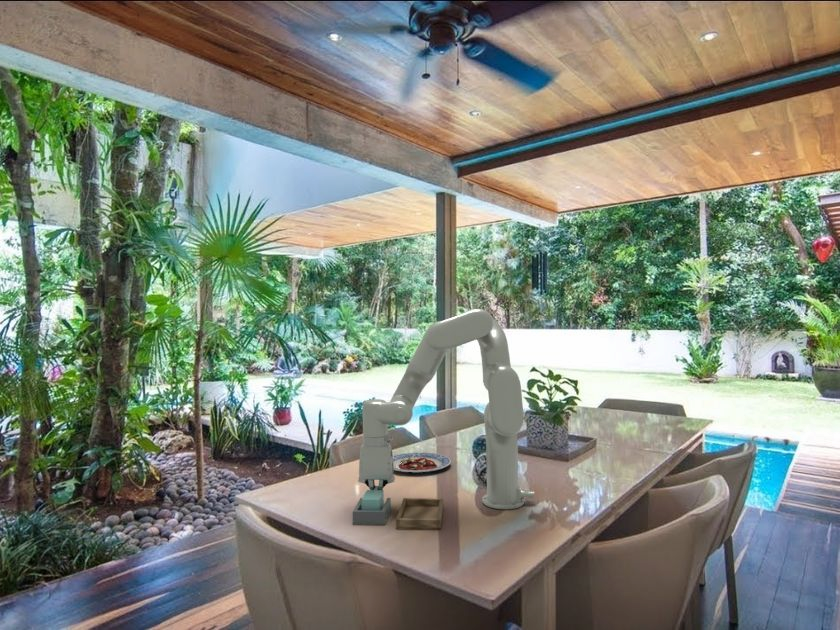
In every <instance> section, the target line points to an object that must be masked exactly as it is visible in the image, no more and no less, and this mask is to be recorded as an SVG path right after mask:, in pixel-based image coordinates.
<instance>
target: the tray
mask: <svg viewBox="0 0 840 630" xmlns="http://www.w3.org/2000/svg"><path fill="white" fill-rule="evenodd" d="M443 514H444V498H432V497H431V498H424V497H423V498H418V497H417V498H416V497H415V498H412V497H411V498H410V497H409V498H407V497H403V499H402V501H401V505H400V507H399V510H398V512H397V516H396V518H395V529H396V530H436V529H437V531H438V530H441V528H442V522H443Z"/></svg>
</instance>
